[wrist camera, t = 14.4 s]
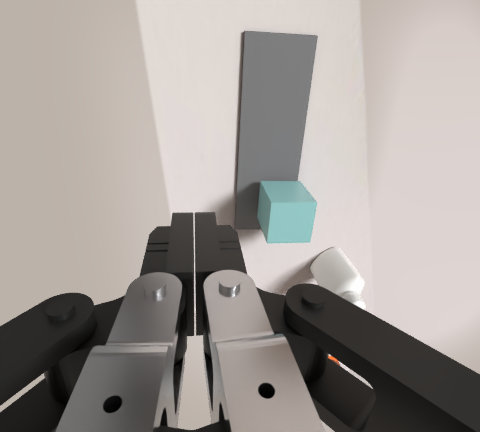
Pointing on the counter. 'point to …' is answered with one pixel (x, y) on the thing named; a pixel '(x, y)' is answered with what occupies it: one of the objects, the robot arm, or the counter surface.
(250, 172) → the mat
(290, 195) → the teal rectangular block
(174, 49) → the counter surface
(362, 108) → the counter surface
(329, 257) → the eye dropper bottle
